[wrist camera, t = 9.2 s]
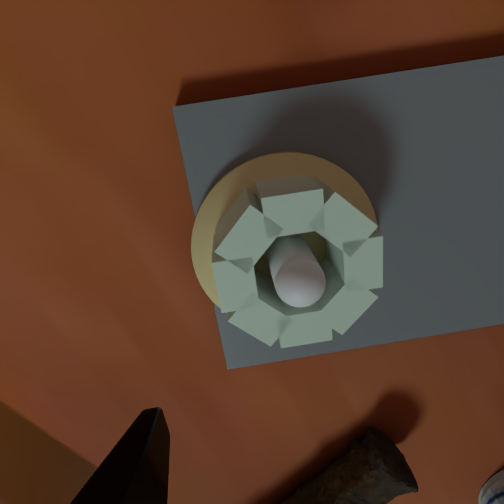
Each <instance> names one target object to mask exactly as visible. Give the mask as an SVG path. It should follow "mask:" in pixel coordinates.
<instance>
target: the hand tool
mask: <svg viewBox="0 0 504 504" xmlns="http://www.w3.org/2000/svg"><path fill="white" fill-rule="evenodd" d="M350 446H351V450H350V451H349V452H348V453H347V454H345V455H344V456H343V457H341V458H340V459H339V460H337V461H336V462H335V463H334V464H332V465H331V466H330V467H328V468H327V469H326V470H325V471H323V472H322V473H321V474H320V475H318V476H317V477H316V478H314V479H313V480H311V481H310V482H309V483H308V484H306V485H304V486H302V487H301V488H297V490H296V492H295V493H294V494H293V495H291V496H290V497H289V498H287V499H286V500H284V501H283V502H282V503H281V504H387V503H388V502H390V501H391V500H392V499H394V498H395V497H396V496H398V495H402V494H406V493H410V492H414V493H415V492H418V485H417V482H416V480H415V477H414V475H413V473H412V471H411V469H410V467H409V466H408V464H407V462H406V460H405V458H404V455H403V454H402V453H401V452H400V451H399V449H398V448H397V447H396V446H395V444H394V443H393V442H392V441H390V440H389V439H388V438H387V437H386V436H385V435H384V434H383V433H382V432H380V431H379V430H377V429H374V428H373V427H370V428H368V429H367V432H366V437H365V438H364V440H353V441H352V442H351V445H350Z"/></svg>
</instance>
